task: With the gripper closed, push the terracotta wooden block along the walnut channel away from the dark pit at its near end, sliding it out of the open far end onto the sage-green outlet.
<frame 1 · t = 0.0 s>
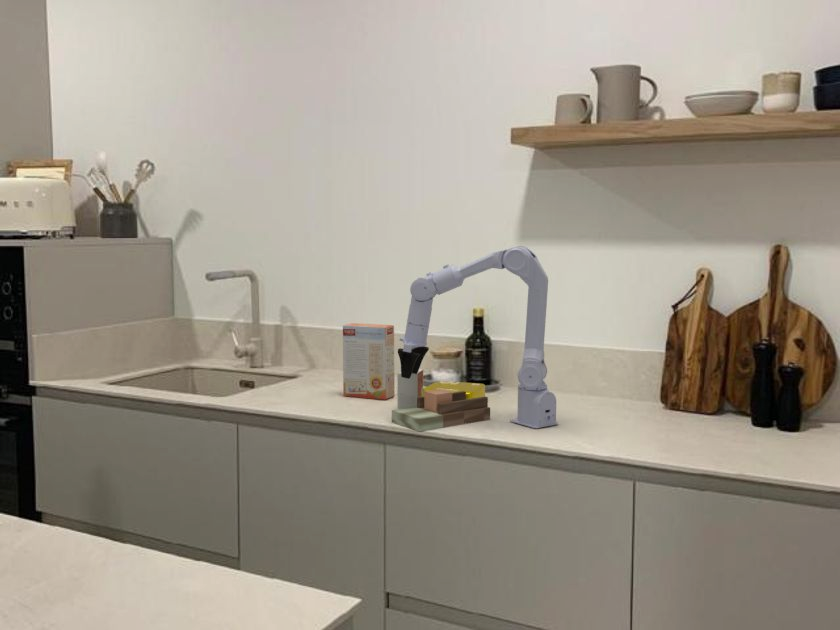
hand: (409, 375, 215), 11 cm above the worktop, tool pointing down, fingers open, 7 cm apart
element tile: (453, 402, 236), on the worktop
cracker box: (369, 397, 240), on the worktop
trap channel: (438, 421, 210), on the worktop
block: (438, 409, 210), point 3 cm above the worktop, touching trap channel
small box: (410, 410, 223), on the worktop, touching gripper
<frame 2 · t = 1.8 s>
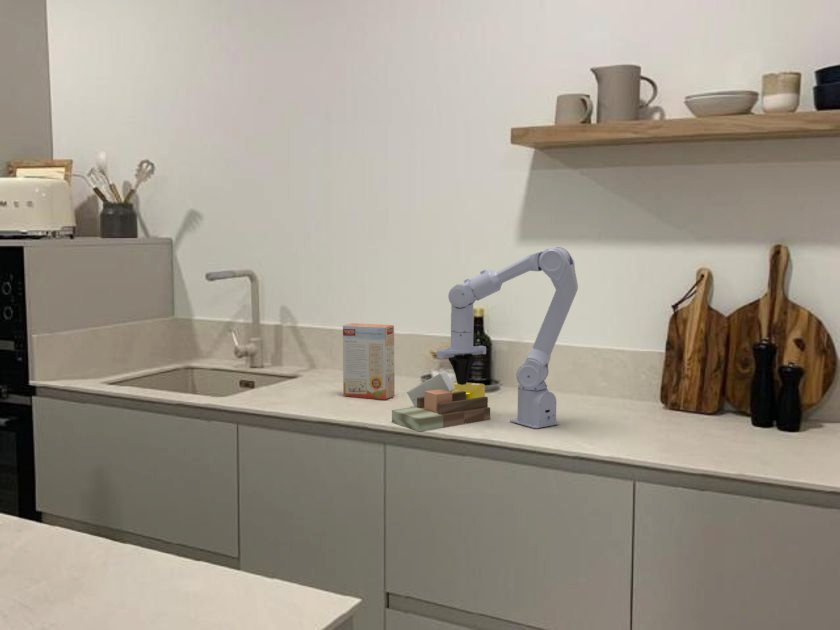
hand: (461, 384, 214), 9 cm above the worktop, tool pointing down, fingers closed
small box: (414, 400, 223), point 3 cm above the worktop, touching trap channel
everything else where it was.
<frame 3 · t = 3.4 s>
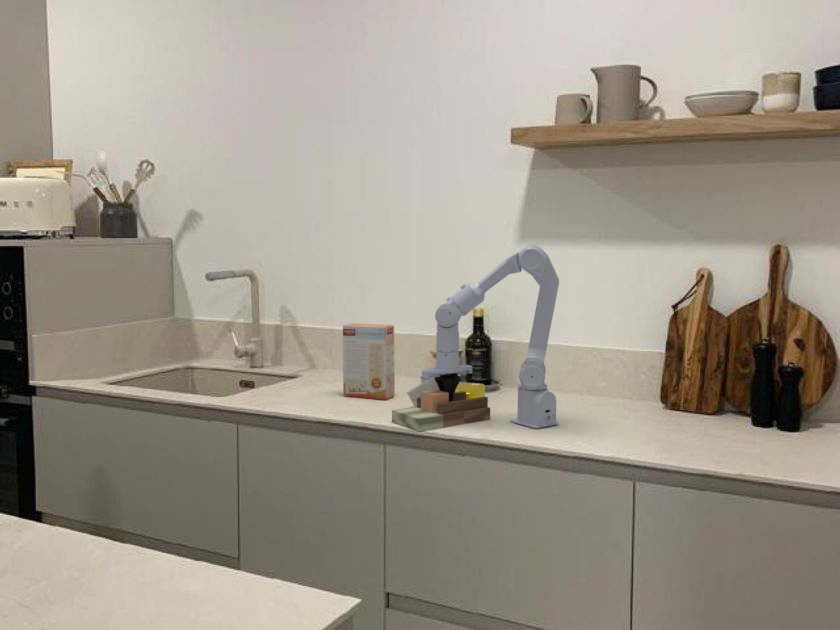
hand: (447, 403, 211), 4 cm above the worktop, tool pointing down, fingers closed
block: (434, 409, 209), point 3 cm above the worktop, touching gripper, trap channel
everything else where it was.
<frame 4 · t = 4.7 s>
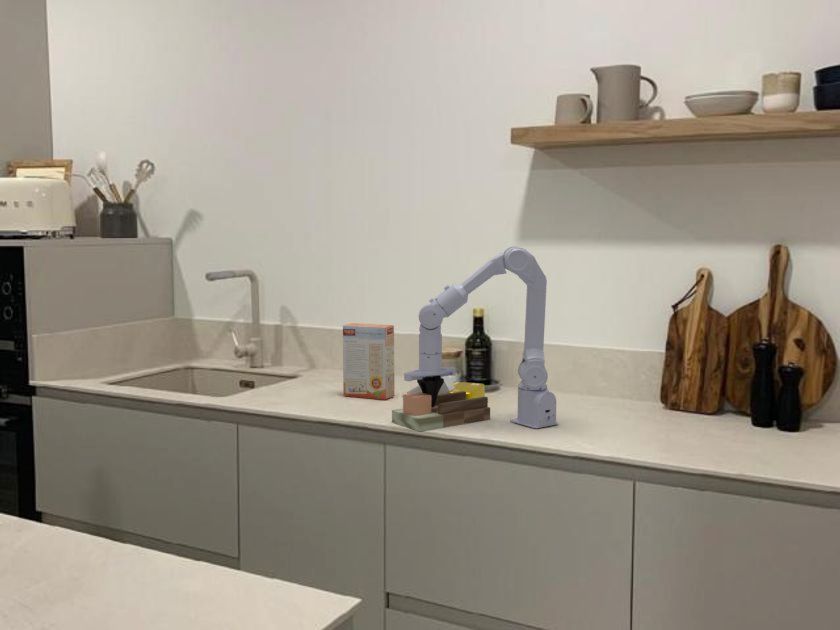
hand: (430, 406, 208), 4 cm above the worktop, tool pointing down, fingers closed
block: (417, 412, 206), point 3 cm above the worktop, touching gripper, trap channel
everything else where it was.
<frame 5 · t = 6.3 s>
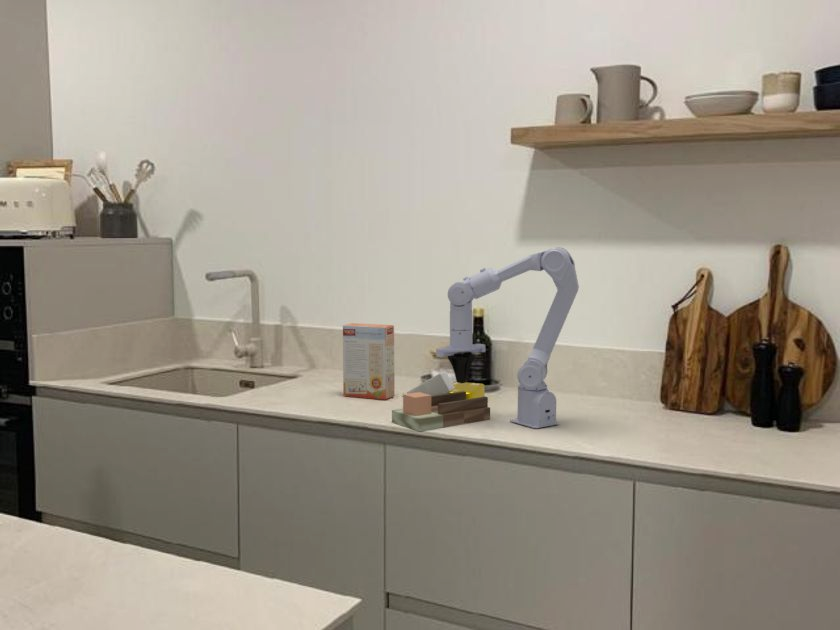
hand: (461, 382, 212), 9 cm above the worktop, tool pointing down, fingers closed
block: (417, 412, 206), point 3 cm above the worktop, touching trap channel
everything else where it was.
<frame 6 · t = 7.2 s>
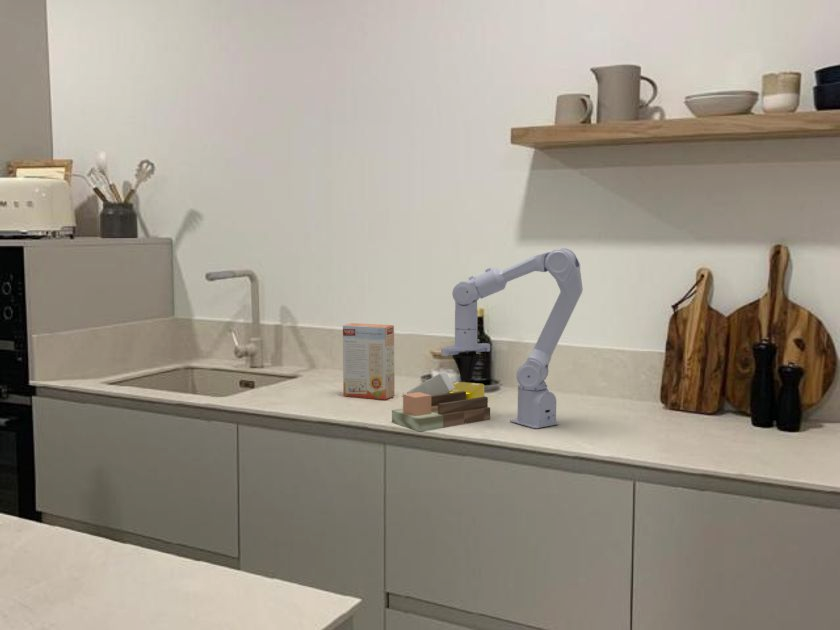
hand: (465, 381, 213), 9 cm above the worktop, tool pointing down, fingers closed
nothing on the worktop moved.
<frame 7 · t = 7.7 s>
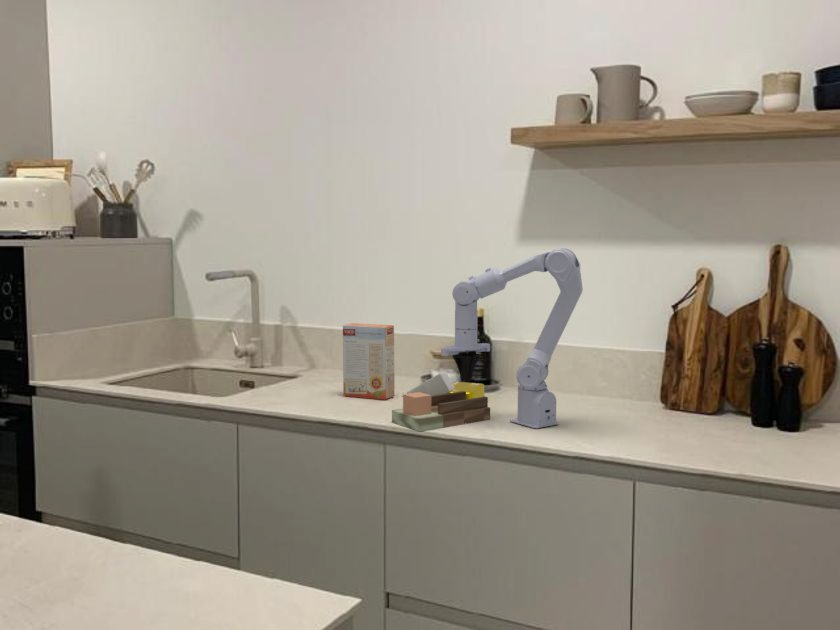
hand: (465, 381, 213), 9 cm above the worktop, tool pointing down, fingers closed
nothing on the worktop moved.
at the end: block 0.4 cm from the target spot on the trap channel, point 3.0 cm above the trap channel's base; block tilted 0° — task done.
